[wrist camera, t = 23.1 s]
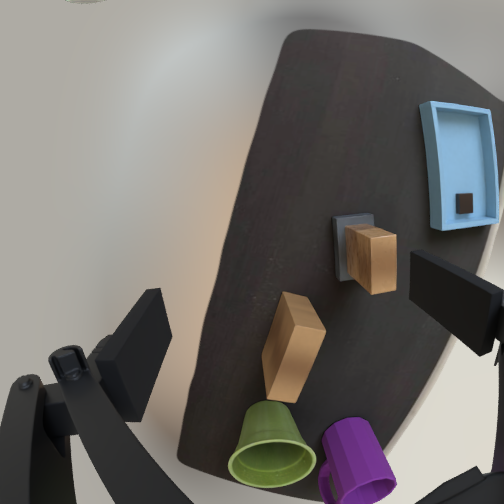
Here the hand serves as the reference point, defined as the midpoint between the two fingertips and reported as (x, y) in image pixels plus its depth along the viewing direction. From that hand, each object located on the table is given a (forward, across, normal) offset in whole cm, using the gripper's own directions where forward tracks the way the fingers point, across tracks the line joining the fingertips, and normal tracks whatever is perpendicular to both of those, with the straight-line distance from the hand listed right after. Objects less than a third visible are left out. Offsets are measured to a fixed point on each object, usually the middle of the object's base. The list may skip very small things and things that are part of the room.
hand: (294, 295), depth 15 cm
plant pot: (+24, -3, -30) cm, 39 cm away
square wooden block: (+24, +1, -14) cm, 28 cm away
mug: (+24, +9, -41) cm, 49 cm away
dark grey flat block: (+23, +30, 0) cm, 38 cm away
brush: (+24, +11, -4) cm, 27 cm away
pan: (+24, +30, +5) cm, 39 cm away
